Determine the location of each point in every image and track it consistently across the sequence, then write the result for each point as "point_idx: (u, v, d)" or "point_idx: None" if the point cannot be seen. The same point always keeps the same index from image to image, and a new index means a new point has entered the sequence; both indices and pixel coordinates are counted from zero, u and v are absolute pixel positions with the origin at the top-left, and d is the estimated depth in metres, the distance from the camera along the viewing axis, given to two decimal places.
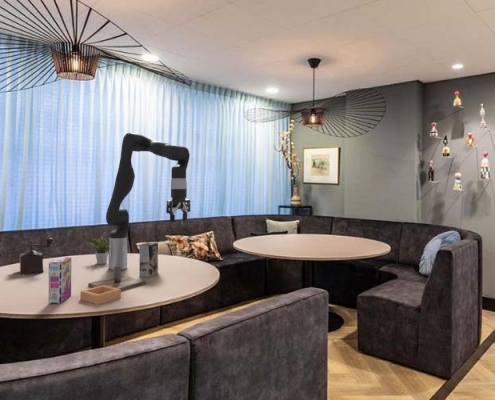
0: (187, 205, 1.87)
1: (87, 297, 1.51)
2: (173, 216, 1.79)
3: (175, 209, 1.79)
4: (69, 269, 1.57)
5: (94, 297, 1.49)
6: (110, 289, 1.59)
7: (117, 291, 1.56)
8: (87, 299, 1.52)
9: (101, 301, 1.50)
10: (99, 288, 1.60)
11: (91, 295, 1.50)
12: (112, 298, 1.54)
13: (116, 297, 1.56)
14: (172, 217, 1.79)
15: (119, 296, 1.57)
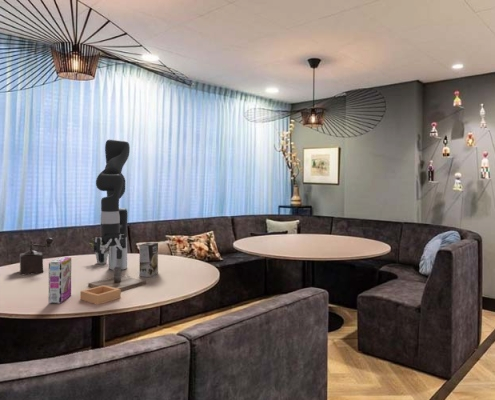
0: (122, 241, 1.63)
1: (87, 297, 1.51)
2: (102, 255, 1.55)
3: (104, 247, 1.55)
4: (69, 269, 1.57)
5: (94, 297, 1.49)
6: (110, 289, 1.59)
7: (117, 291, 1.56)
8: (87, 299, 1.52)
9: (101, 301, 1.50)
10: (99, 288, 1.60)
11: (91, 295, 1.50)
12: (112, 298, 1.54)
13: (116, 297, 1.56)
14: (101, 256, 1.54)
15: (119, 296, 1.57)
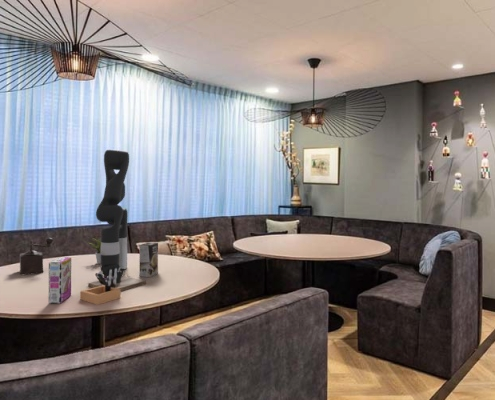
0: (119, 274, 1.63)
1: (87, 297, 1.51)
2: (109, 287, 1.58)
3: (109, 280, 1.57)
4: (69, 269, 1.57)
5: (94, 297, 1.49)
6: None
7: (117, 291, 1.56)
8: (87, 299, 1.52)
9: (101, 301, 1.50)
10: (99, 288, 1.60)
11: (91, 295, 1.50)
12: (112, 298, 1.54)
13: (116, 297, 1.56)
14: (108, 288, 1.58)
15: (119, 296, 1.57)
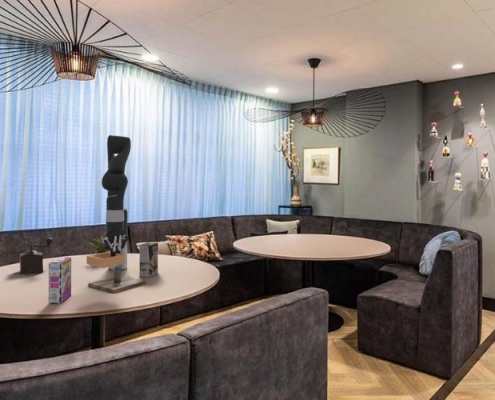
0: (123, 241, 1.69)
1: (93, 261, 1.58)
2: (114, 253, 1.65)
3: (114, 246, 1.64)
4: (69, 269, 1.57)
5: (100, 261, 1.56)
6: (115, 255, 1.65)
7: (121, 257, 1.63)
8: (93, 263, 1.58)
9: (106, 265, 1.56)
10: (104, 254, 1.66)
11: (97, 259, 1.57)
12: (117, 263, 1.61)
13: (121, 262, 1.62)
14: (113, 254, 1.65)
15: (123, 261, 1.63)
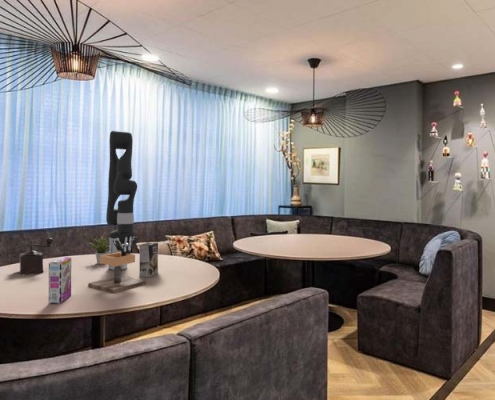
0: (133, 242, 1.82)
1: (106, 261, 1.71)
2: (124, 253, 1.78)
3: (124, 246, 1.77)
4: (69, 269, 1.57)
5: (113, 260, 1.69)
6: None
7: (132, 256, 1.76)
8: (106, 262, 1.71)
9: (118, 264, 1.69)
10: (115, 254, 1.80)
11: (109, 258, 1.70)
12: (128, 262, 1.74)
13: (131, 261, 1.75)
14: (123, 254, 1.78)
15: (133, 260, 1.77)
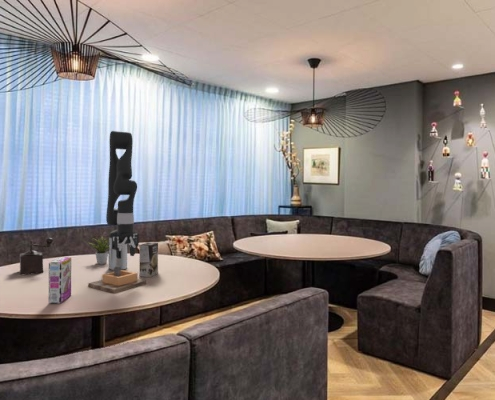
0: (135, 239, 1.84)
1: (109, 279, 1.73)
2: (119, 252, 1.75)
3: (121, 245, 1.75)
4: (69, 269, 1.57)
5: (116, 279, 1.70)
6: (128, 273, 1.80)
7: (134, 274, 1.78)
8: (109, 281, 1.73)
9: (121, 283, 1.71)
10: None
11: (112, 277, 1.72)
12: (130, 280, 1.76)
13: (134, 280, 1.77)
14: (118, 253, 1.75)
15: (136, 279, 1.78)
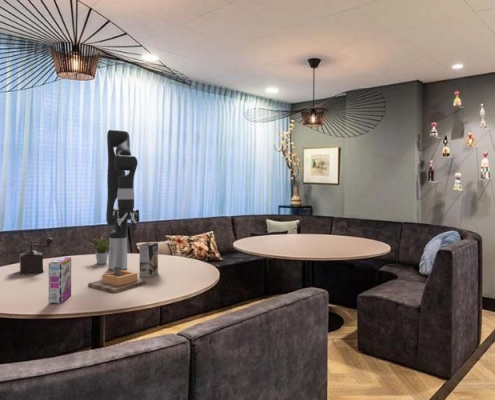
0: (136, 215, 1.83)
1: (109, 279, 1.73)
2: (119, 227, 1.75)
3: (121, 220, 1.75)
4: (69, 269, 1.57)
5: (116, 279, 1.70)
6: (128, 273, 1.80)
7: (134, 274, 1.78)
8: (109, 281, 1.73)
9: (121, 283, 1.71)
10: None
11: (112, 277, 1.72)
12: (130, 280, 1.76)
13: (134, 280, 1.77)
14: (118, 228, 1.75)
15: (136, 279, 1.78)
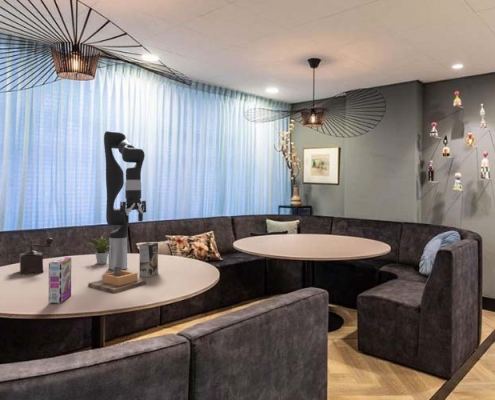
0: (143, 206, 1.91)
1: (109, 279, 1.73)
2: (127, 217, 1.82)
3: (129, 210, 1.82)
4: (69, 269, 1.57)
5: (116, 279, 1.70)
6: (128, 273, 1.80)
7: (134, 274, 1.78)
8: (109, 281, 1.73)
9: (121, 283, 1.71)
10: None
11: (112, 277, 1.72)
12: (130, 280, 1.76)
13: (134, 280, 1.77)
14: (126, 218, 1.82)
15: (136, 279, 1.78)
